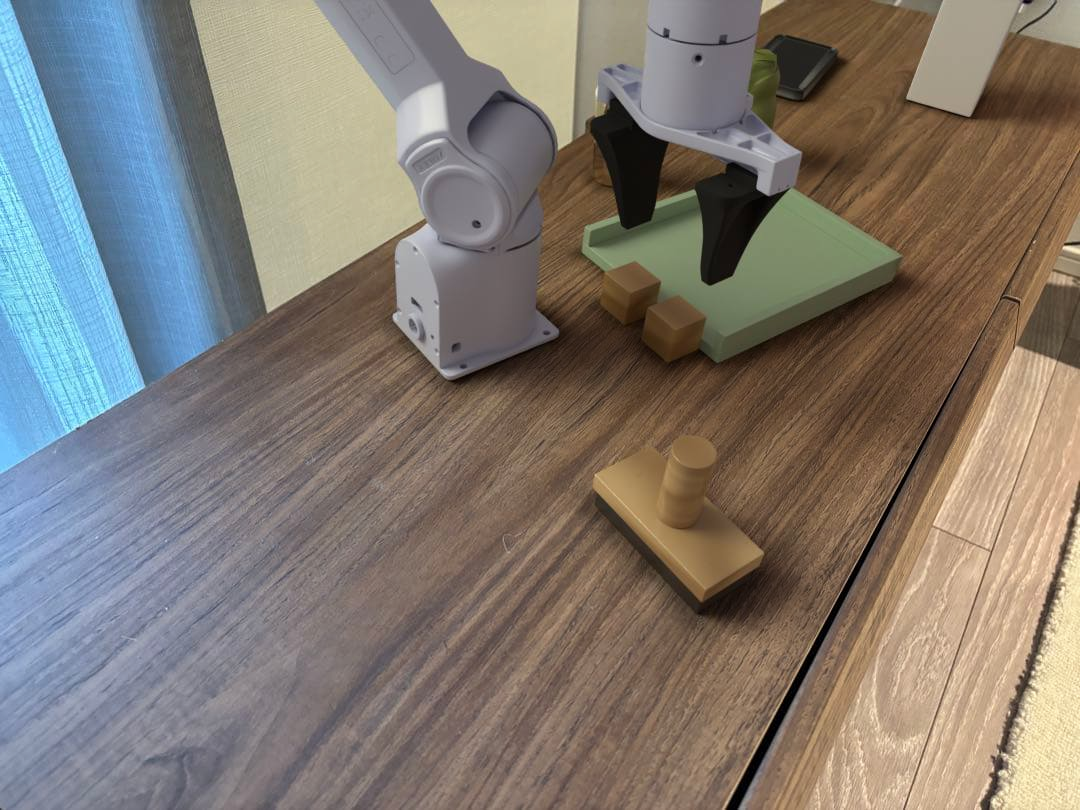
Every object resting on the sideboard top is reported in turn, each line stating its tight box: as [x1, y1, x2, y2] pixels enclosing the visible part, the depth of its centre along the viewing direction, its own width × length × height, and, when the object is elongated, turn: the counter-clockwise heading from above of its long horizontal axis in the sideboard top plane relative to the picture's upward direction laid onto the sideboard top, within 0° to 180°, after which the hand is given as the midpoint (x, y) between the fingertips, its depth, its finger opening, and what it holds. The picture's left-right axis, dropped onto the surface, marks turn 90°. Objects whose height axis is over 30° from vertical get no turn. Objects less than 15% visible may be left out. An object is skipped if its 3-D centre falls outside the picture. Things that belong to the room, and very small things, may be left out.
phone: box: [761, 33, 839, 101], centre depth 101 cm, size 8×1×15 cm
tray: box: [581, 187, 903, 364], centre depth 71 cm, size 20×16×2 cm
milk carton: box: [905, 0, 1024, 118], centre depth 92 cm, size 7×7×19 cm
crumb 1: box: [599, 261, 661, 326], centre depth 65 cm, size 3×3×3 cm
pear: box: [748, 48, 780, 131], centre depth 82 cm, size 6×5×10 cm
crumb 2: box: [641, 295, 707, 364], centre depth 63 cm, size 3×3×3 cm
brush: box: [592, 434, 765, 614], centre depth 48 cm, size 4×9×8 cm, turn 36°
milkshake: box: [591, 85, 613, 188], centre depth 77 cm, size 4×5×10 cm
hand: (675, 249), depth 55 cm, fingers open, 7 cm apart
